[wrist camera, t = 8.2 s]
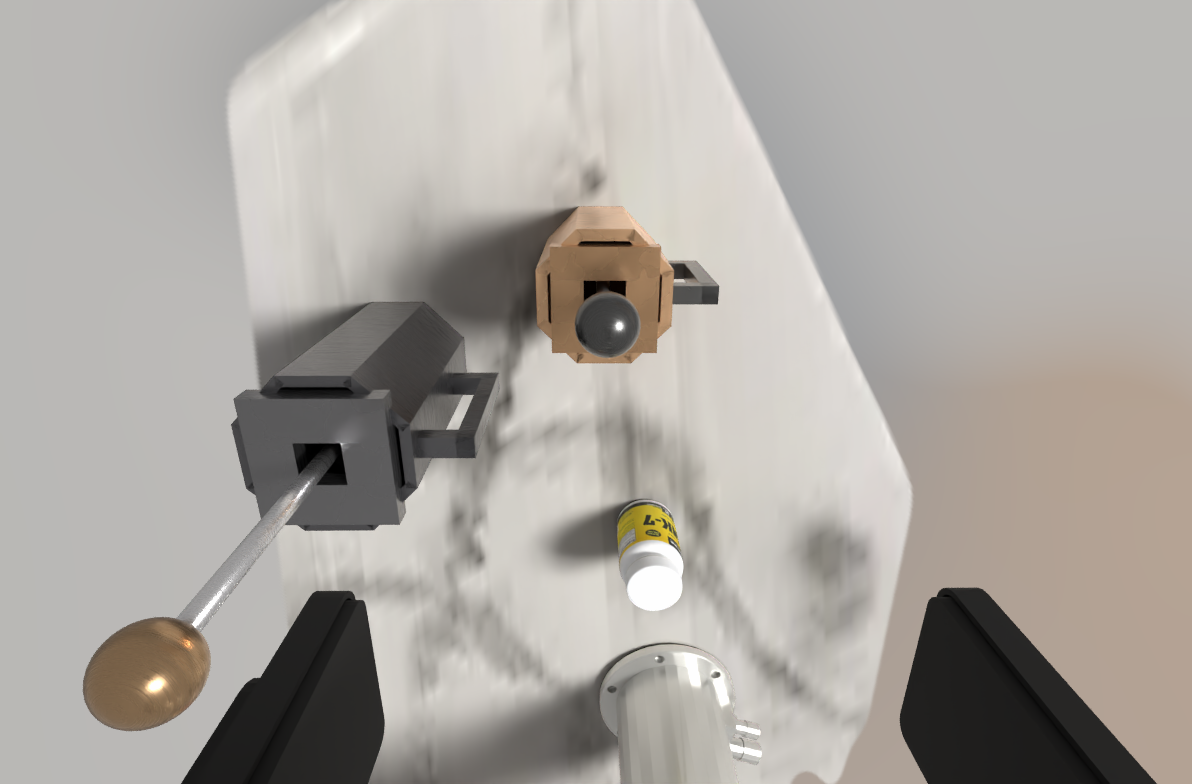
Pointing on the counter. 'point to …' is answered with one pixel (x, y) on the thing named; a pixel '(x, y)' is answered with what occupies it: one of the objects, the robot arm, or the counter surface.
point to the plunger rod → (182, 631)
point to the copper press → (612, 279)
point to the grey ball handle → (607, 323)
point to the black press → (363, 416)
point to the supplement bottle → (649, 555)
